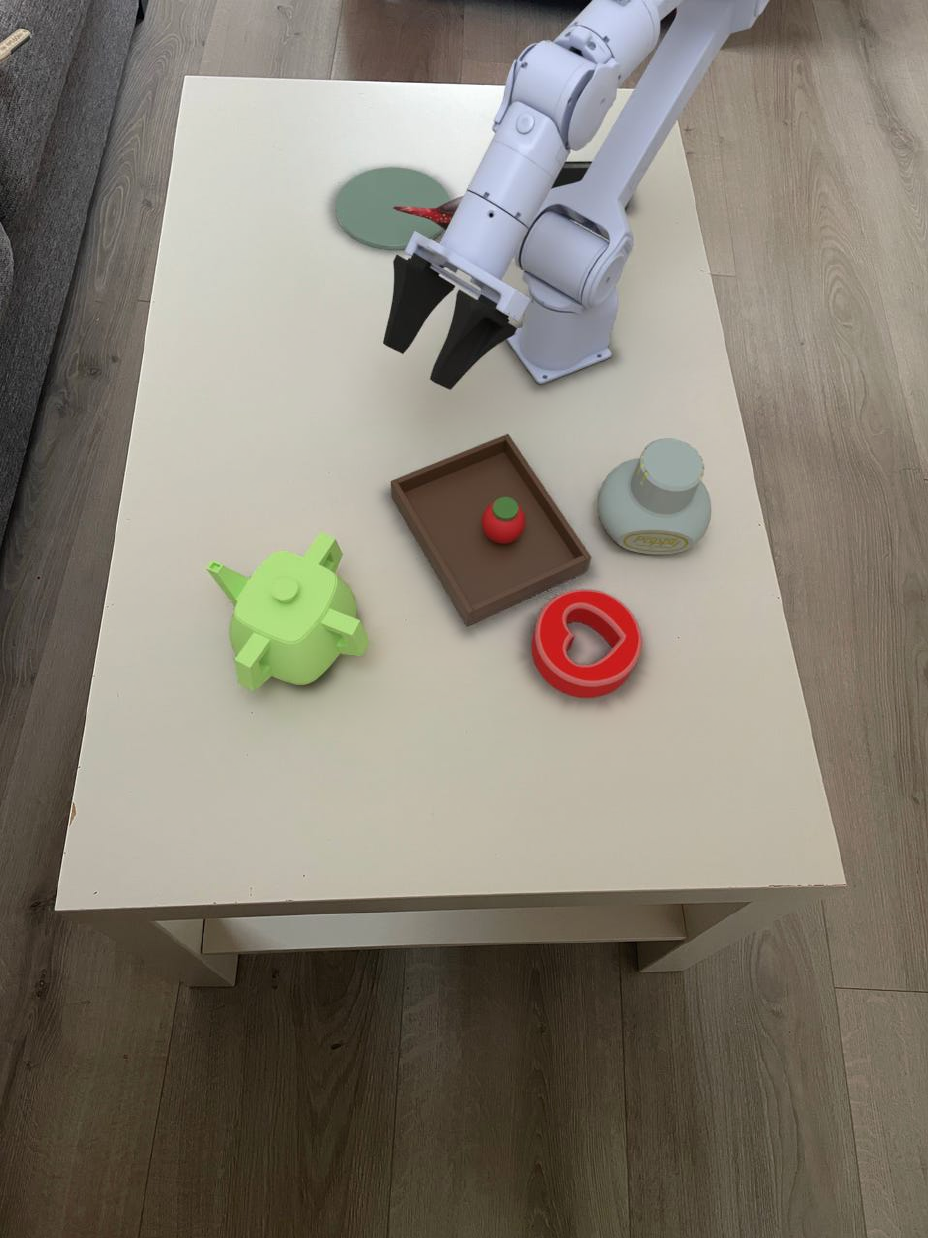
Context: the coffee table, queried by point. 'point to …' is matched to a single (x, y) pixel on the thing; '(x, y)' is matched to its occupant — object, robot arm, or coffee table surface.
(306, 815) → the coffee table surface
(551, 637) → the decorative ornament
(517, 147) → the robot arm
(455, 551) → the tray
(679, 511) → the air freshener
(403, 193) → the plate
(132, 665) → the coffee table surface
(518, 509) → the strawberry
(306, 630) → the teapot
